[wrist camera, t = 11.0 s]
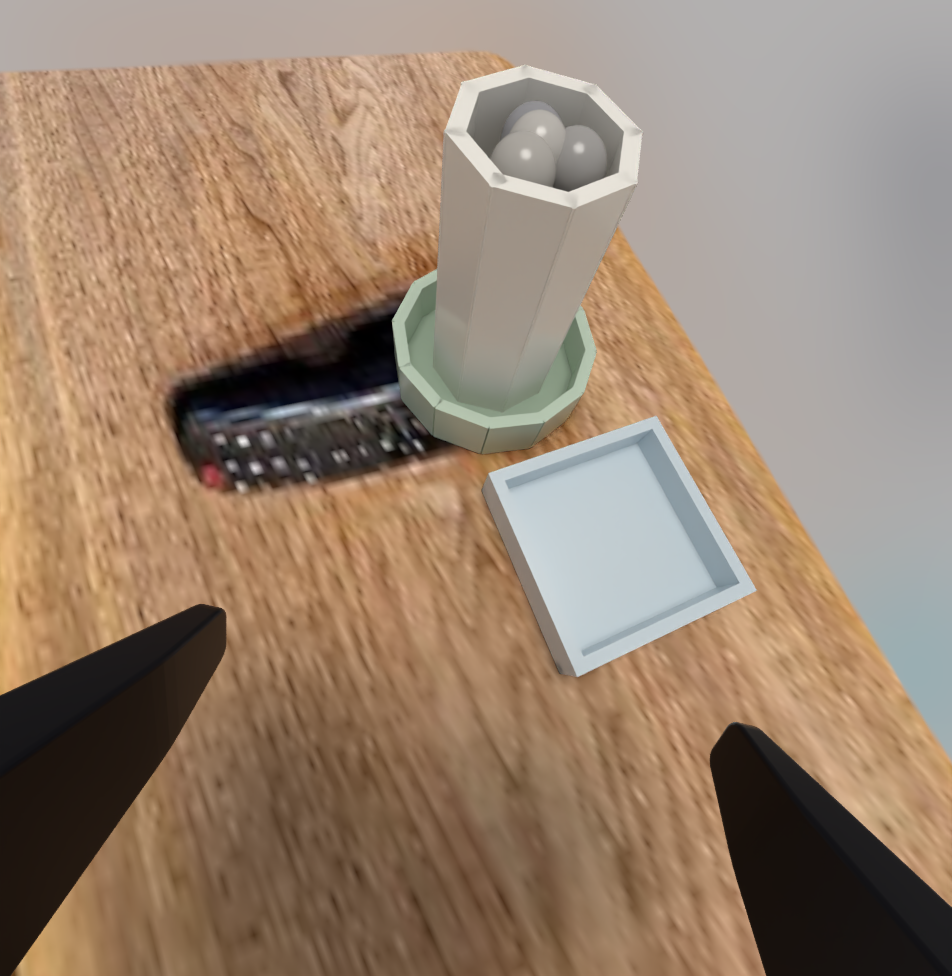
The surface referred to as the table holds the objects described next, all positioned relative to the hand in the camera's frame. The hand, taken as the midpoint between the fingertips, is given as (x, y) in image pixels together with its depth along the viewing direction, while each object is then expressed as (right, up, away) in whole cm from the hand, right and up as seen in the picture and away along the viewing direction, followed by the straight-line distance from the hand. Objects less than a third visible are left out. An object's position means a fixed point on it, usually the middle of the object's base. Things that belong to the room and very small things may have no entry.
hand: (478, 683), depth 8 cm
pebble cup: (+1, +10, +17) cm, 20 cm away
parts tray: (+6, 0, +15) cm, 17 cm away
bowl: (+1, +10, +18) cm, 21 cm away
